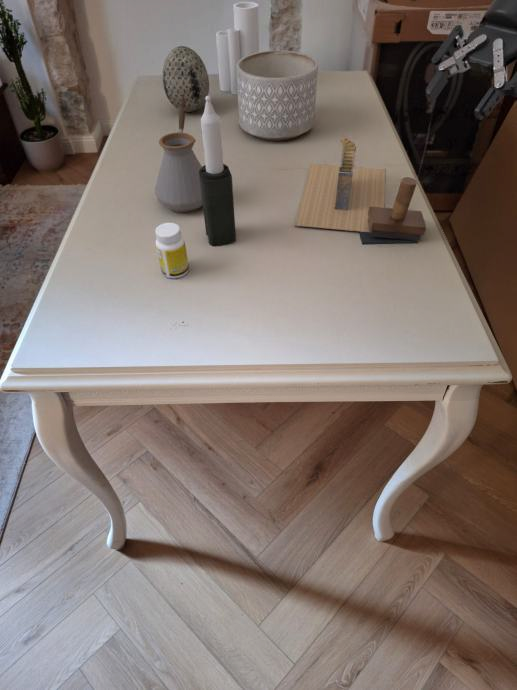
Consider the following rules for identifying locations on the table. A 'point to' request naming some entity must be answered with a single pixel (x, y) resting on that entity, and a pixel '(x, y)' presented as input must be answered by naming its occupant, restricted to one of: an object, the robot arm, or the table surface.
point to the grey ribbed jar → (179, 170)
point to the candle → (216, 183)
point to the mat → (381, 239)
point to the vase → (237, 44)
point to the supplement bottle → (171, 250)
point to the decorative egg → (185, 78)
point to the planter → (276, 93)
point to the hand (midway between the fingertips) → (452, 107)
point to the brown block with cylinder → (398, 216)
